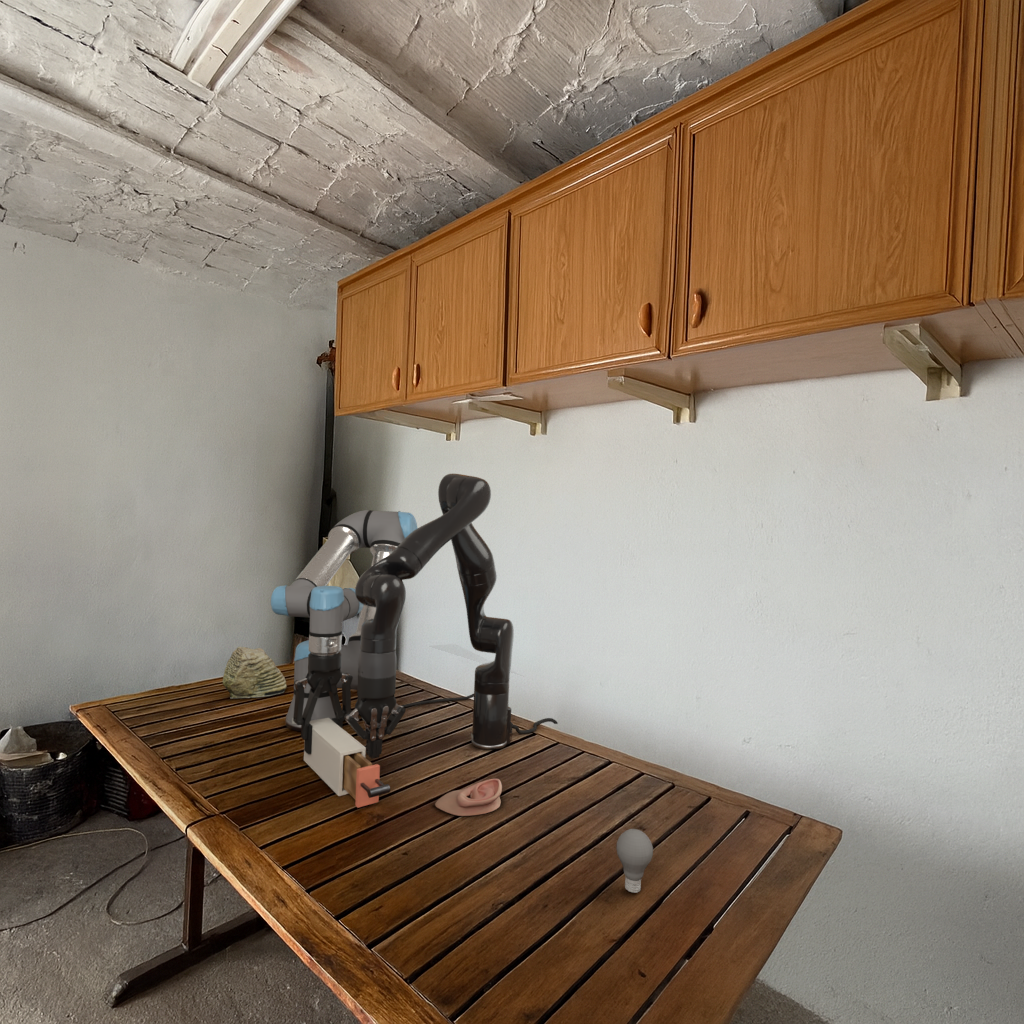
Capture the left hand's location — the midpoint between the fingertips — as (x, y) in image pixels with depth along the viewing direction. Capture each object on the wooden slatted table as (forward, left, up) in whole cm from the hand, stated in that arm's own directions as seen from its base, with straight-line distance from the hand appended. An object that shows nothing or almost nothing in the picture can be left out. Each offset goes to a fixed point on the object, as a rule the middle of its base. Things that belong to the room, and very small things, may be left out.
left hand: (321, 749), depth 150 cm
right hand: (+7, +27, +8) cm, 29 cm away
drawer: (+4, +18, -3) cm, 19 cm away
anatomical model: (-9, +39, -3) cm, 40 cm away
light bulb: (-6, +79, -3) cm, 79 cm away
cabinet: (+2, +7, -3) cm, 8 cm away
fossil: (-15, -57, -3) cm, 59 cm away
